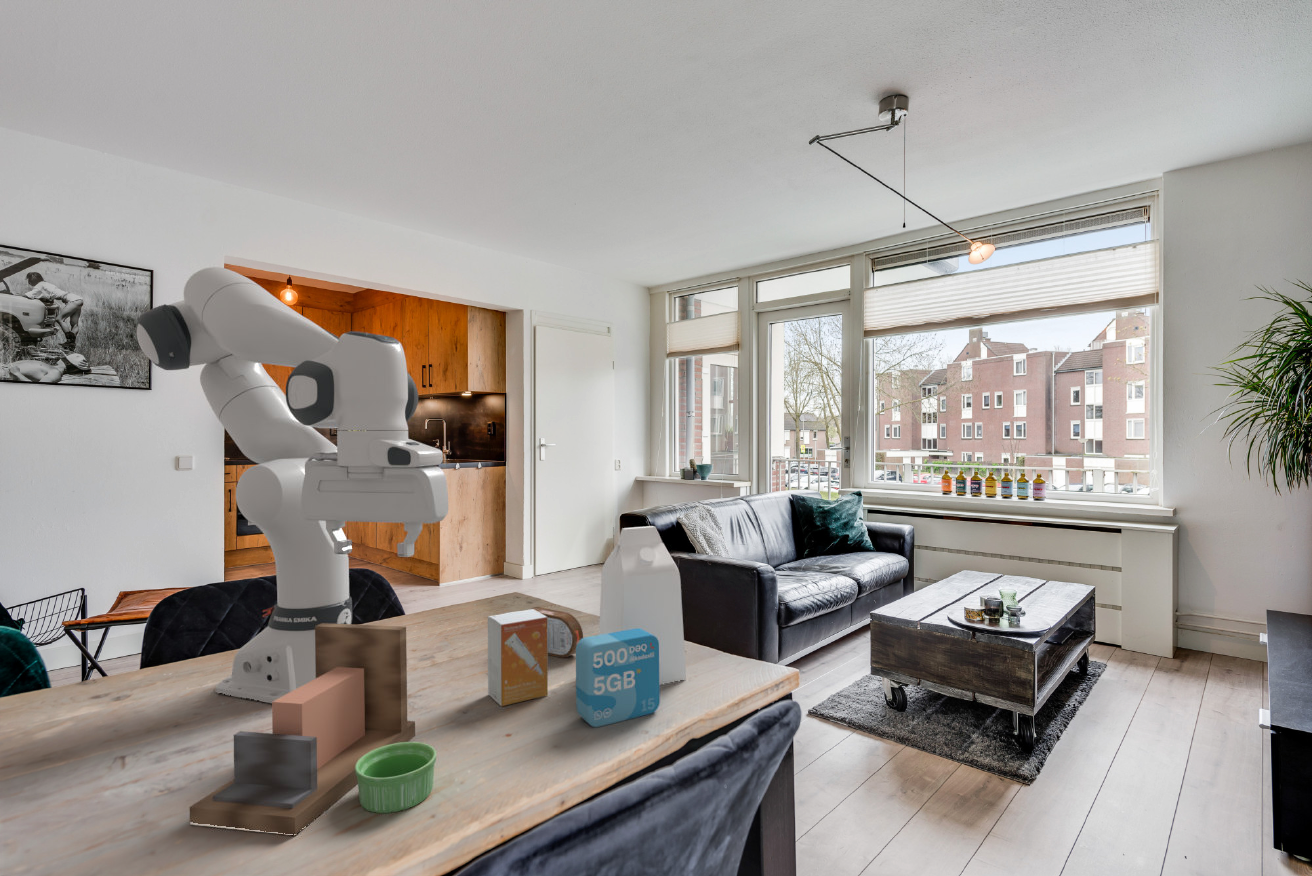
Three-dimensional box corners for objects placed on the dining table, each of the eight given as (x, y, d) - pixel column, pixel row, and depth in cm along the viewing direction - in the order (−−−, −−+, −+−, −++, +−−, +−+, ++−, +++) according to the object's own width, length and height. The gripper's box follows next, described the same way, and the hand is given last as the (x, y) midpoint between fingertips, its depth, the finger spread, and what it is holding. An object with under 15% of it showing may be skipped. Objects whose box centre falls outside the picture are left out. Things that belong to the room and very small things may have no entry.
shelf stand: (189, 825, 73) (187, 679, 73) (332, 729, 96) (331, 619, 96) (295, 836, 71) (293, 686, 70) (415, 735, 94) (413, 622, 94)
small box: (501, 707, 104) (500, 624, 103) (487, 694, 109) (486, 615, 109) (549, 696, 108) (548, 616, 108) (533, 684, 113) (532, 607, 113)
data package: (588, 730, 95) (587, 646, 95) (575, 718, 99) (574, 638, 99) (660, 712, 101) (659, 633, 101) (646, 702, 105) (645, 626, 105)
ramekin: (446, 775, 83) (445, 740, 83) (422, 816, 74) (422, 777, 74) (373, 777, 83) (373, 742, 83) (341, 818, 74) (341, 779, 74)
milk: (657, 659, 125) (655, 521, 125) (686, 680, 114) (684, 529, 114) (597, 670, 120) (595, 526, 120) (621, 692, 109) (619, 534, 109)
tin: (584, 657, 127) (584, 613, 127) (574, 662, 124) (573, 617, 124) (526, 645, 135) (525, 603, 135) (515, 649, 132) (514, 607, 132)
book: (273, 777, 79) (272, 701, 79) (338, 732, 91) (337, 667, 91) (303, 780, 78) (302, 703, 78) (364, 734, 90) (364, 668, 90)
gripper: (288, 452, 88) (289, 556, 88) (429, 453, 84) (429, 562, 84) (321, 451, 95) (322, 548, 95) (453, 451, 91) (454, 553, 91)
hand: (374, 555), depth 90 cm, fingers open, 8 cm apart
